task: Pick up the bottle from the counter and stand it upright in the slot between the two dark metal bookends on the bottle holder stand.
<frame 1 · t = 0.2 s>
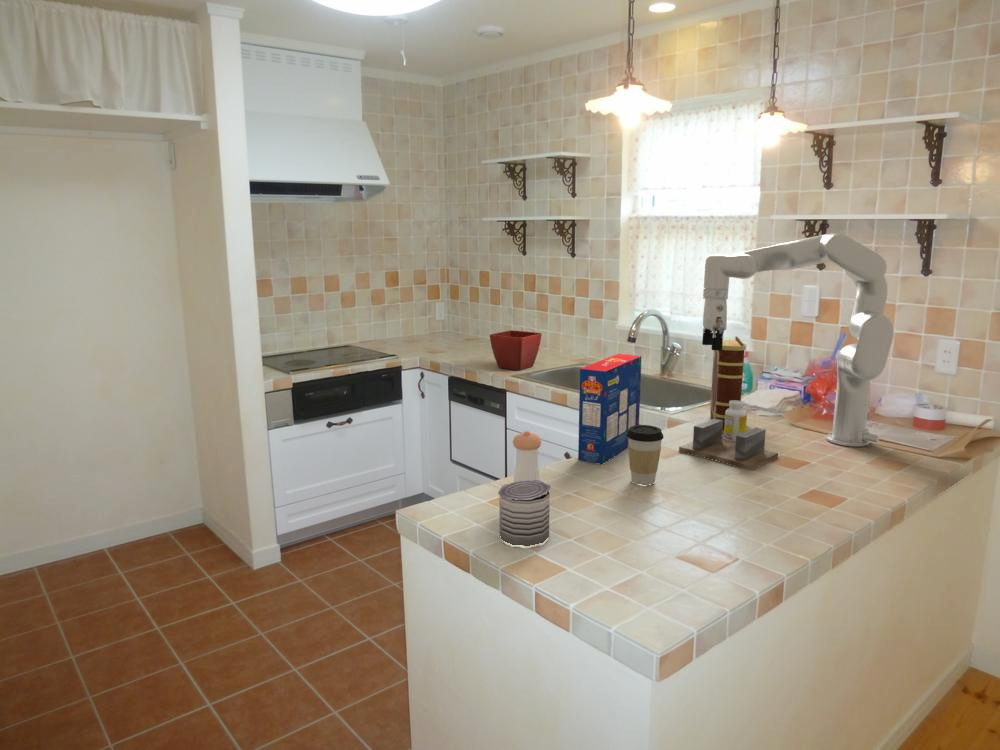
hand: (711, 347, 225), 30 cm above the countertop, tool pointing down, fingers open, 9 cm apart
plant pot: (515, 367, 347), on the countertop
decorative book: (724, 426, 245), on the countertop
blue cereal box: (609, 450, 220), on the countertop
pepper shaker: (526, 505, 177), on the countertop
coffee cup: (643, 482, 192), on the countertop
supplement bottle: (734, 440, 229), on the countertop
bottle holder stand: (727, 454, 214), on the countertop
can: (524, 538, 158), on the countertop
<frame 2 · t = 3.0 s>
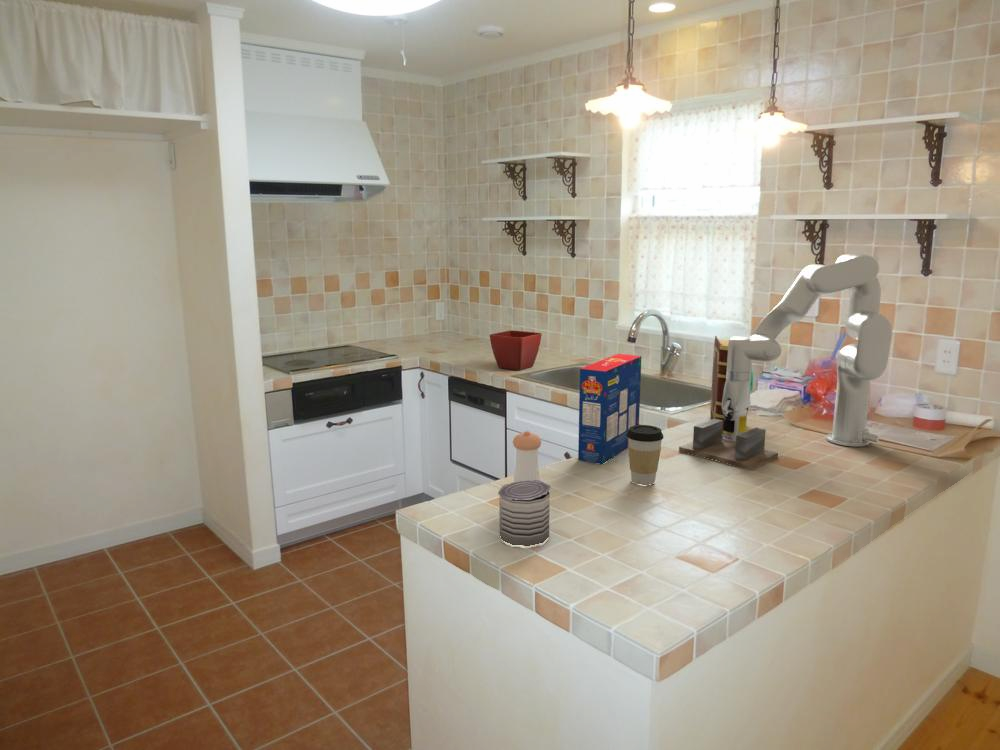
hand: (735, 429, 228), 4 cm above the countertop, tool pointing down, fingers closed on supplement bottle, 6 cm apart
supplement bottle: (734, 440, 229), on the countertop, touching gripper
everything else where it was.
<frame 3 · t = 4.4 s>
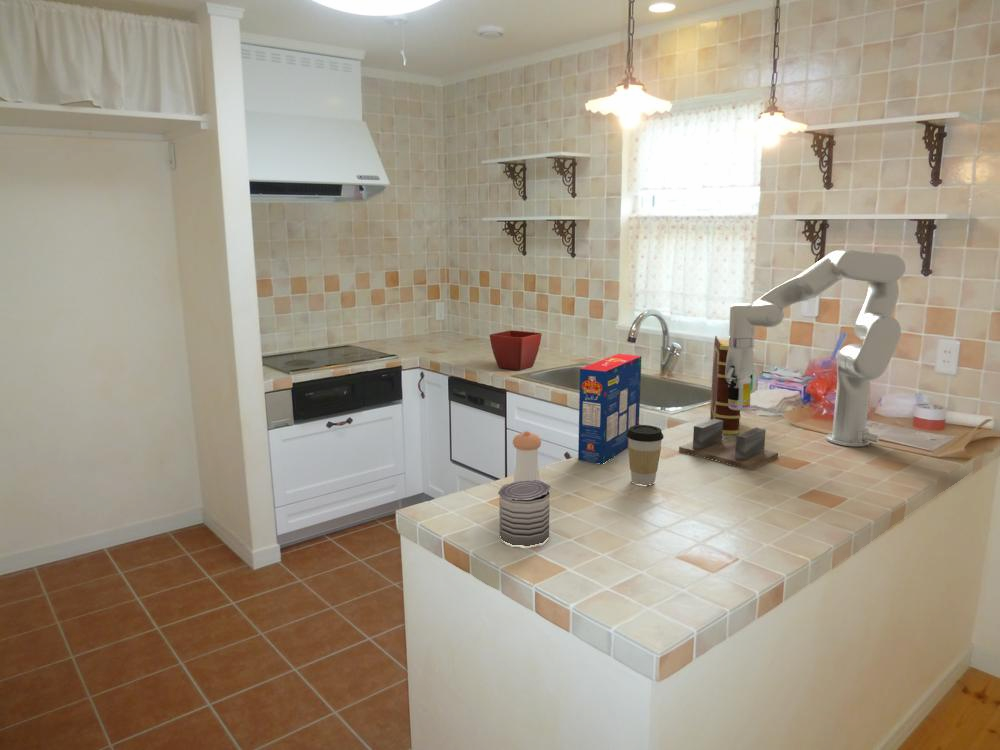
hand: (739, 397, 226), 14 cm above the countertop, tool pointing down, fingers closed on supplement bottle, 6 cm apart
supplement bottle: (738, 409, 226), point 10 cm above the countertop, touching gripper
everything else where it was.
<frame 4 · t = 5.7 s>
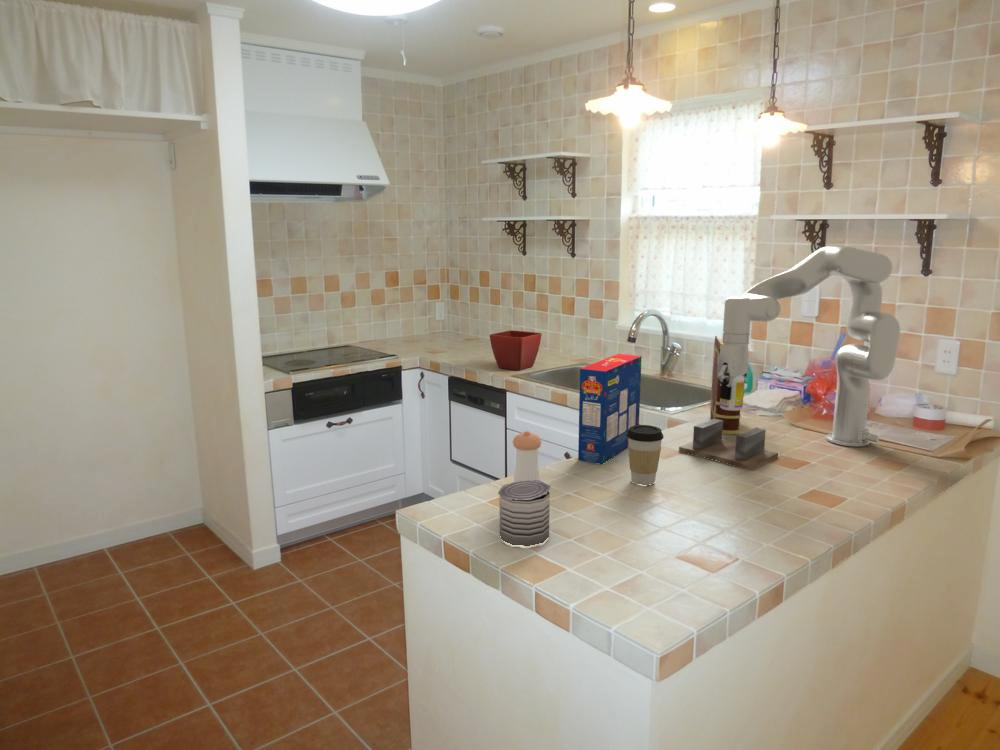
hand: (731, 396, 212), 18 cm above the countertop, tool pointing down, fingers closed on supplement bottle, 6 cm apart
supplement bottle: (730, 409, 213), point 14 cm above the countertop, touching gripper
everything else where it was.
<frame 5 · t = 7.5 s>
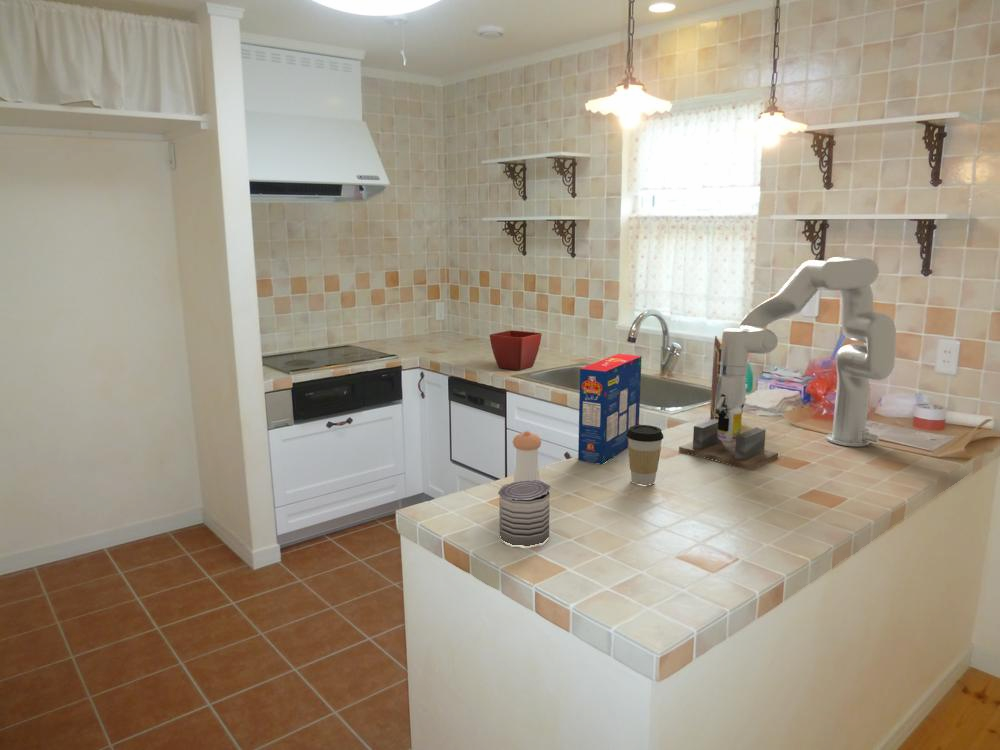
hand: (729, 427, 213), 9 cm above the countertop, tool pointing down, fingers closed on supplement bottle, 6 cm apart
supplement bottle: (728, 440, 213), point 5 cm above the countertop, touching gripper
everything else where it was.
when the fingers open (6 cm above the countertop, at t = 8.9 s): supplement bottle drops 1 cm, resting on bottle holder stand.
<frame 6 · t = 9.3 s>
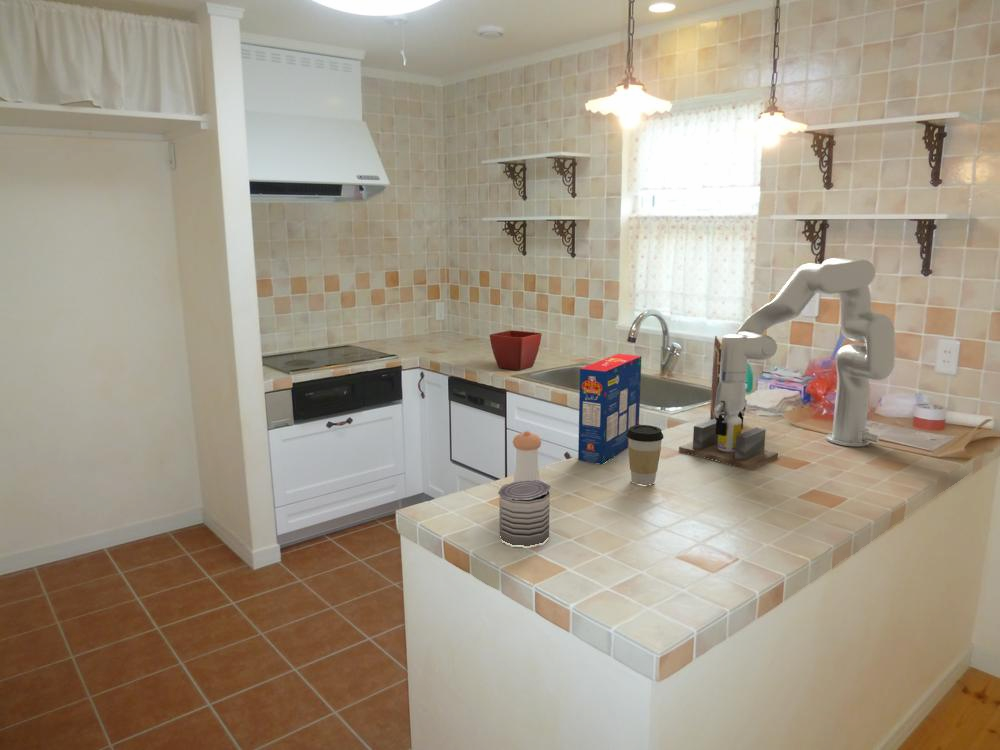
hand: (729, 431, 213), 7 cm above the countertop, tool pointing down, fingers open, 9 cm apart
supplement bottle: (728, 450, 214), point 1 cm above the countertop, touching bottle holder stand
everything else where it was.
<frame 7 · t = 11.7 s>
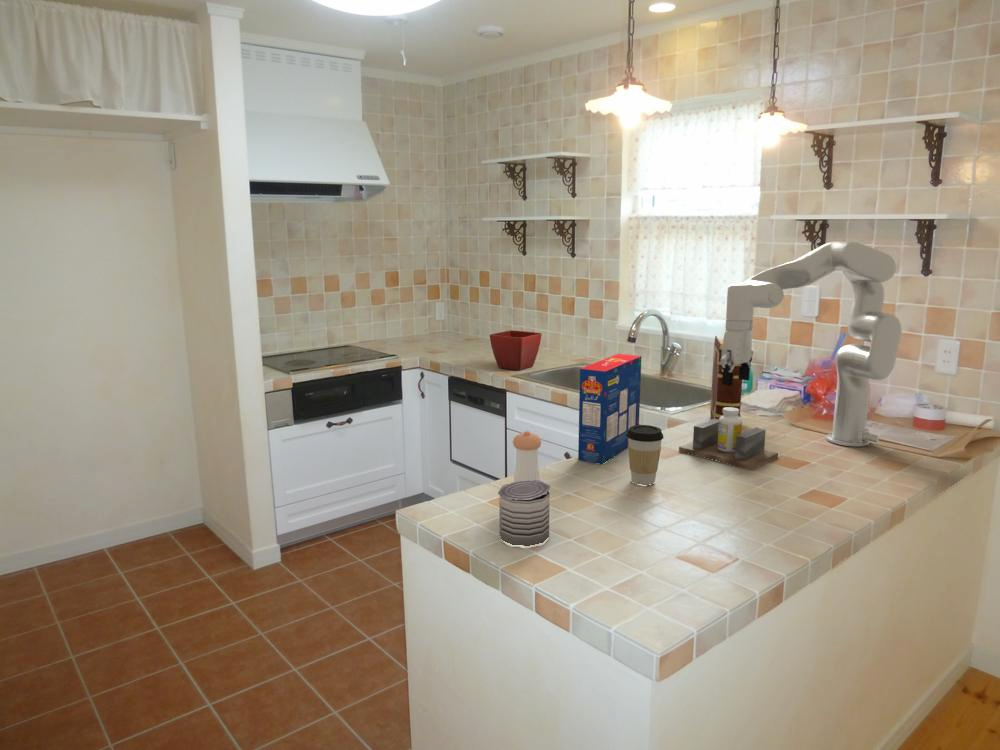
hand: (735, 382, 210), 22 cm above the countertop, tool pointing down, fingers open, 9 cm apart
nothing on the countertop moved.
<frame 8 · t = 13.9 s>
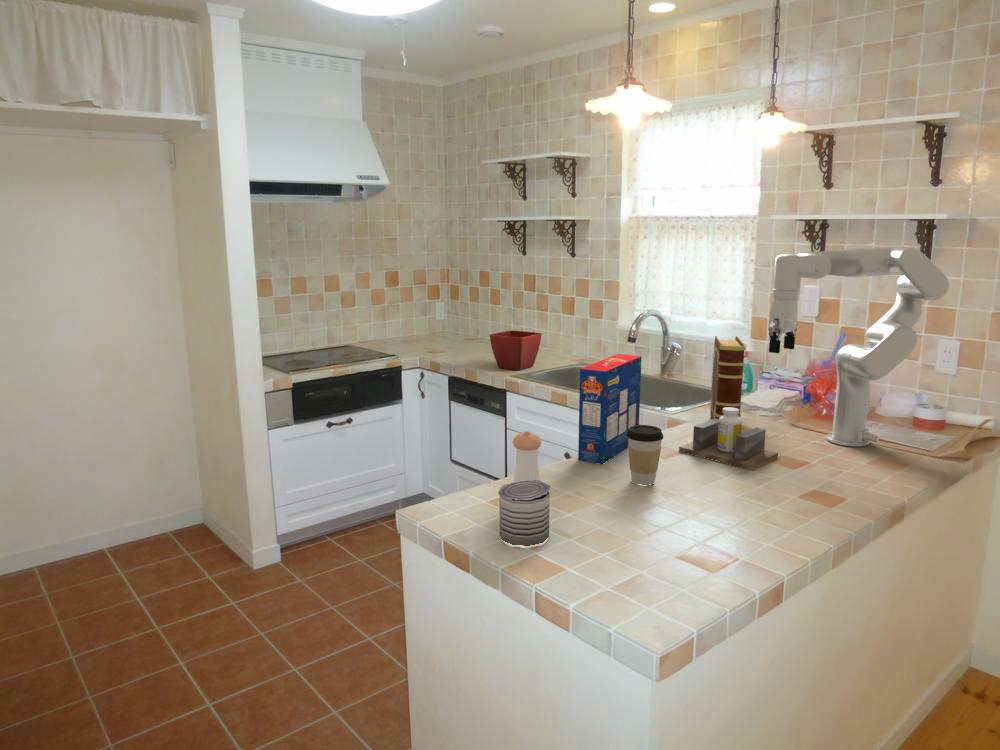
hand: (781, 350, 218), 30 cm above the countertop, tool pointing down, fingers open, 9 cm apart
nothing on the countertop moved.
at the end: supplement bottle 0.2 cm off-centre on the bottle holder stand, point 1.3 cm above the bottle holder stand's base; supplement bottle tilted 0°; the gripper is holding nothing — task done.
